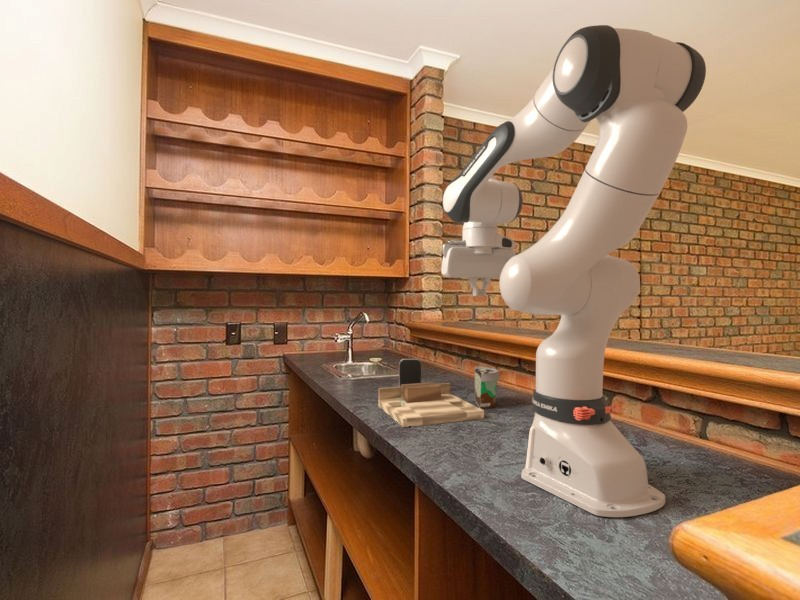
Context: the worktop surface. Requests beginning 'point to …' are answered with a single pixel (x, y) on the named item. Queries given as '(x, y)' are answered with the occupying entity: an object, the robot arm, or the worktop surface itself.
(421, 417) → the wooden frame
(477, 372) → the food container
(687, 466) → the worktop surface
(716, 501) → the worktop surface
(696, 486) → the worktop surface
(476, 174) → the robot arm
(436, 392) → the block
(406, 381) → the battery charger
